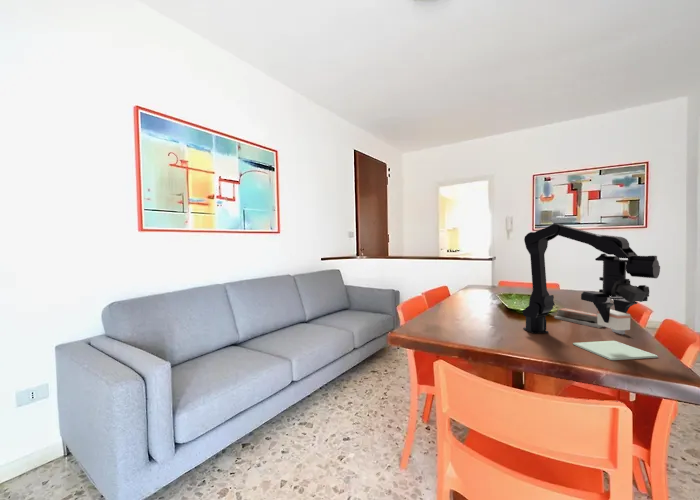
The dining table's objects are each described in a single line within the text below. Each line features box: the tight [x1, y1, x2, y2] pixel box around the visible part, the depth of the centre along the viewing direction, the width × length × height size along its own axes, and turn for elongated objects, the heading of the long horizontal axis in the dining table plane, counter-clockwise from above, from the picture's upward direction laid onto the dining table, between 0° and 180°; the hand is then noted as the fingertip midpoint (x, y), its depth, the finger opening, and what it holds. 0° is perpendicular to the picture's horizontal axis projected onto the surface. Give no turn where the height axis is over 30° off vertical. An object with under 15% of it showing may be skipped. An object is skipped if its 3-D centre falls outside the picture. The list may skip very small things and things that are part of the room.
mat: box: [572, 340, 659, 361], centre depth 101 cm, size 16×14×1 cm
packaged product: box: [554, 307, 605, 329], centre depth 136 cm, size 18×5×10 cm
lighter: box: [611, 329, 626, 335], centre depth 121 cm, size 7×2×8 cm, turn 1°
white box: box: [596, 308, 631, 331], centre depth 101 cm, size 7×5×5 cm, turn 6°
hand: (613, 322), depth 101 cm, fingers closed on white box, 4 cm apart
